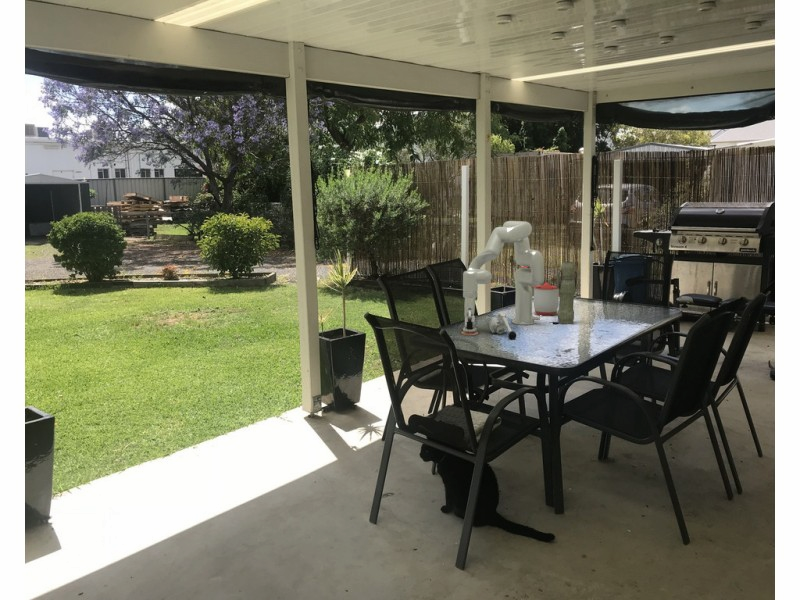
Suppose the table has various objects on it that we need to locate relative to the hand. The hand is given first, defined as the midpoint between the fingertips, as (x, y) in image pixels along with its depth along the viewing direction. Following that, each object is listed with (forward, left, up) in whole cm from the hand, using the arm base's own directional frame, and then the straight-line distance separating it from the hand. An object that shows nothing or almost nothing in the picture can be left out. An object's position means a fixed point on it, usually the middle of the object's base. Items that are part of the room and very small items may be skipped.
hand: (469, 327), depth 341 cm
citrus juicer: (-46, -59, -3) cm, 75 cm away
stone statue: (-54, -33, -3) cm, 63 cm away
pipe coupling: (0, 0, -2) cm, 2 cm away
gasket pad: (0, 0, -3) cm, 3 cm away
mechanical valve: (-18, +3, -3) cm, 19 cm away
